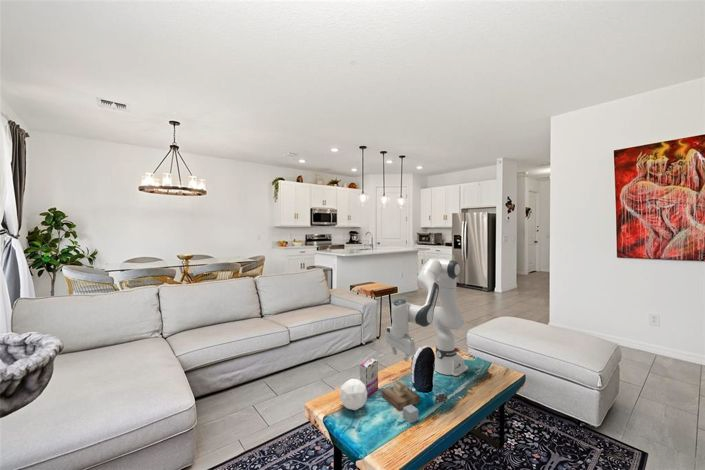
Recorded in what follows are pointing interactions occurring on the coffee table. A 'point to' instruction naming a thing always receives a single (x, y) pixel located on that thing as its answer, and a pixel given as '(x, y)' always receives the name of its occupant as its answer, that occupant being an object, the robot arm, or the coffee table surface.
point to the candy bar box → (369, 375)
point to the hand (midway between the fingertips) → (400, 357)
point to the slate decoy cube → (410, 413)
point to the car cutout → (442, 398)
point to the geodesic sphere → (353, 394)
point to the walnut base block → (400, 398)
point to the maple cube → (400, 388)
